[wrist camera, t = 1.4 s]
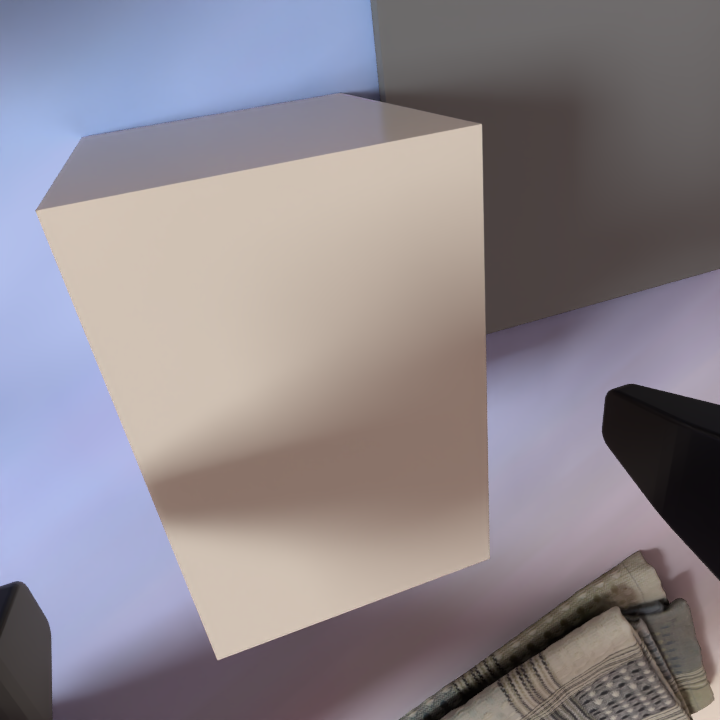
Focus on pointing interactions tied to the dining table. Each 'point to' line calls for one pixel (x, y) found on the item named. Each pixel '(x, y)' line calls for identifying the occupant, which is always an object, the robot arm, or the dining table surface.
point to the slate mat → (573, 137)
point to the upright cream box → (291, 346)
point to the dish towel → (589, 660)
